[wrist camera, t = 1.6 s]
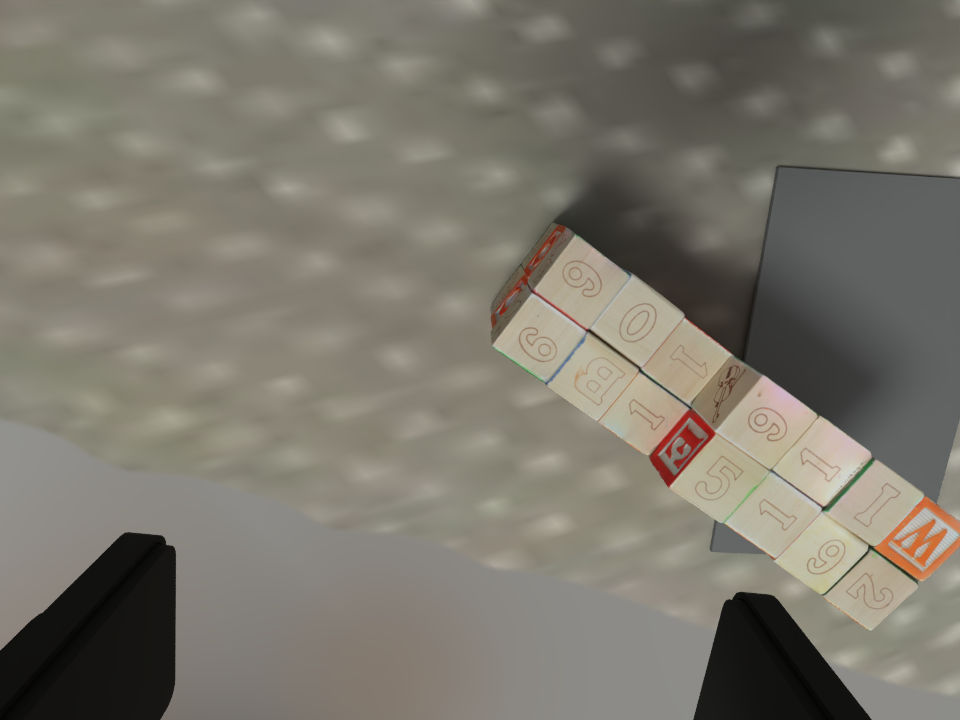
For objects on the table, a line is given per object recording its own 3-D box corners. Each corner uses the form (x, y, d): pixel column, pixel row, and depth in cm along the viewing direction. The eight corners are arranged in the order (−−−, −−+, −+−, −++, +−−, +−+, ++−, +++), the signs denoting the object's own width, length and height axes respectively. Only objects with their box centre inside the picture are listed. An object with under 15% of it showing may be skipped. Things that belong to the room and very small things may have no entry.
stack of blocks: (486, 307, 36) (489, 362, 24) (552, 219, 35) (590, 231, 23) (755, 504, 40) (874, 638, 28) (825, 430, 38) (981, 537, 26)
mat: (1019, 183, 35) (1024, 183, 35) (917, 558, 41) (920, 560, 41) (776, 167, 34) (779, 167, 34) (709, 549, 41) (711, 551, 40)
